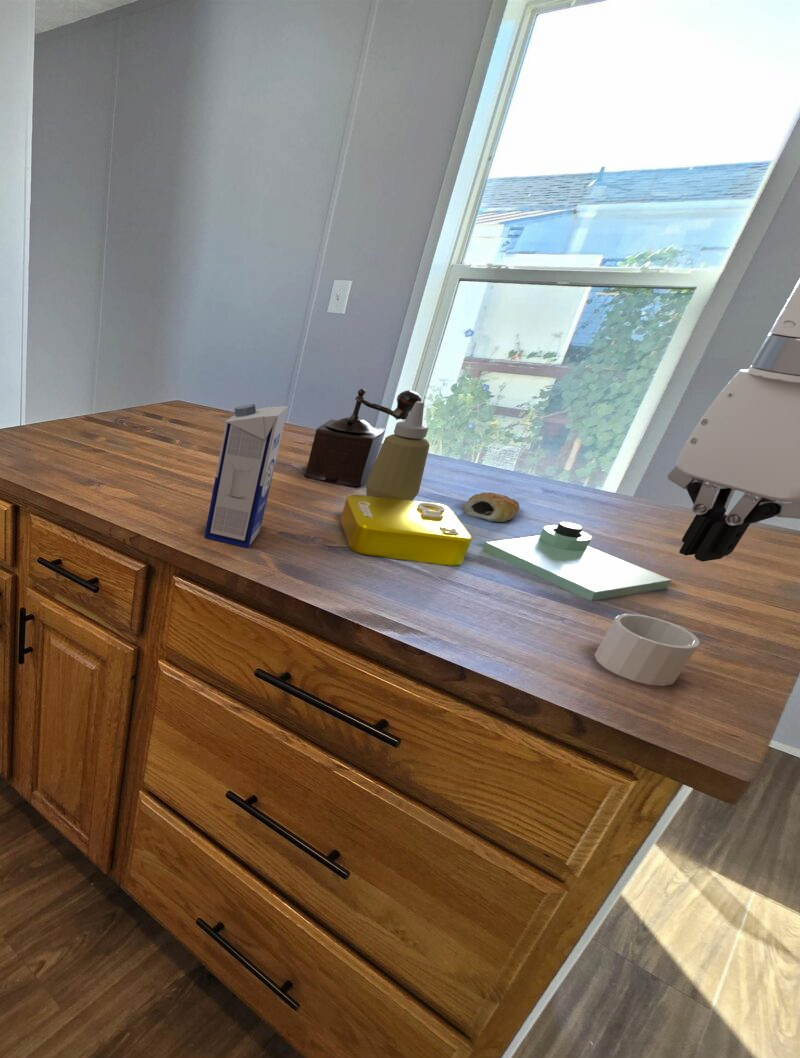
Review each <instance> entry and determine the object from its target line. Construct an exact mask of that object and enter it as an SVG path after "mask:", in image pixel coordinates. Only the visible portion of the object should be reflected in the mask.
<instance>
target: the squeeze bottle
mask: <svg viewBox="0 0 800 1058" xmlns="http://www.w3.org/2000/svg"><path fill="white" fill-rule="evenodd" d="M424 410H425V401H421V402H419V401H417V402H416V403H415V404H414V406H413V408H412V409H411V411H410V412H409V414H408V416H407V418H406V419H405V420H403V421H397V422H396V424H395V427H394V429H393V433H392V434H390V435H388V436H386V437H385V438H384V441H382V442H383V443H382V445H381V446H380V448H379V451H378V454H377V458H376V461H375V463H374V466H373V468H372V470H371V473H370V475H369V477H368V480H367V482H366V483H365V488H366V490H365V491H366V496H373V497H382V498H391V499H400V500H409V501H414V500H415V499H416V497H417V496H418V495H419V493H420V488H421V485H422V480H423V476H424V471H425V468H426V463H427V458H428V453H429V450H430V442H429V441H428V440H427V439H426V437H427V434H428V431H429V426H428V425H427V424H424V423H423V422H424V421H423V420H424Z"/></svg>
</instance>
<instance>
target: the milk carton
mask: <svg viewBox="0 0 800 1058" xmlns="http://www.w3.org/2000/svg"><path fill="white" fill-rule="evenodd" d="M288 411H289V405H282V406H275V405H273V406H269V407H268V406H267V407H262V408H256V404H254V403H252V404H246V405H240V406H237V407H235V408H234V415H232V416H231V417H229V418H228V419H227V420H225V422H224V429H223V434H222V439H221V445H220V451H219V456H218V460H217V466H216V470H215V478H214V482H213V488H212V494H211V498H210V504H209V508H208V509H209V510H208V515H207V519H206V526H205V531H204V539H207V540H211V541H216V542H220V543H224V544H228V545H232V546H236V547H241V548H245V549H249V548H250V547H251V545H252V544H253V542H254V541H255V540H256V539H257V537H258V536H259V535H260V532H261V527H262V524H263V519H264V515H265V511H266V506H267V502H268V497H269V493H270V488H271V485H272V479H273V475H274V471H275V467H276V462H277V458H278V454H279V450H280V445H281V440H282V436H283V431H284V428H285V423H286V418H287V414H288Z"/></svg>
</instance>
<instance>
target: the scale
mask: <svg viewBox="0 0 800 1058" xmlns="http://www.w3.org/2000/svg"><path fill="white" fill-rule="evenodd" d="M558 525H559V524H558ZM558 525H557V524H550V525H545V526H544V527H543V528H542V531H541V533H540V534H537V535H531V536H523V537H515V538H508V539H500V540H491V541H485V543H484V544H483V547H482V549H481V550H482V551H483V552H485V553H487V554H489V555H492V556H493V557H496V558H498V559H500V560H502V561H504V562H507V563H509V564H511V565H512V566H514V567H517V568H519V569H521V570H523V571H525V572H528V573H530V574H532V575H535V576H536V577H539V578H541V579H542V580H545V581H547V582H549V583H551V584H553V585H555V586H558V587H559V588H562V589H564V590H566V591H568V592H570V593H572V594H574V595H576V596H579V597H581V598H583V599H584V600H587V601H589V602H594V601H598V600H599V601H600V600H606V599H612V598H618V597H624V596H625V597H626V596H630V595H635V594H642V593H648V592H654V591H660V590H667V589H668V588H669V586H670V584H671V582H672V581H673V580H672V579H670V578H669V577H666V576H663V575H661V574H658V573H656V572H653V571H651V570H648V569H647V568H646V569H645V568H643V567H641V566H638V565H636V564H633V563H632V562H631V563H630V562H628V561H626V560H624V559H621V558H619V557H616V556H614V555H611V554H609V553H606V552H604V551H602V550H599V549H596V548H594V547H591V546H589V544H590V543H591V541H592V539H593V536H592V535H591V534H589V533H588V532H586V531H583V530H582V531H581V533H580V535H579V537H577V538H576V537H568V536H564V535H561V534H558V533H556V532H555V531H556V529H557V527H558Z"/></svg>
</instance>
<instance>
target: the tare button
mask: <svg viewBox="0 0 800 1058" xmlns="http://www.w3.org/2000/svg"><path fill="white" fill-rule="evenodd" d="M581 531H583V526H581V524H577V523H574V522H570V521H560V522H559V523H558V527H557V529H556V531H555V532H556V533H558V534H561V535H564V536H568V537H576V538H577V537H579V535H580V533H581Z"/></svg>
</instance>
